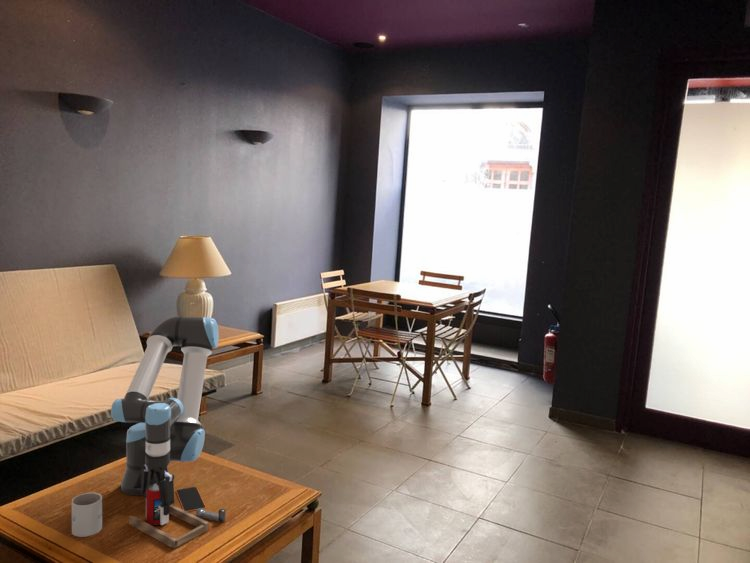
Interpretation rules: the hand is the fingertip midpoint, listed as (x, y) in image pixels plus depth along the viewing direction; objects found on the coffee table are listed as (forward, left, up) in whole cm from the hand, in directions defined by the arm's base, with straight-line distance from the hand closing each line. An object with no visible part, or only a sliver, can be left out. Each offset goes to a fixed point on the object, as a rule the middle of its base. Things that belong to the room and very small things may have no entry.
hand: (157, 519), depth 191 cm
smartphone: (-3, +16, -1) cm, 16 cm away
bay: (+6, 0, 0) cm, 6 cm away
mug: (-14, -15, -1) cm, 21 cm away
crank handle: (+12, +12, 0) cm, 17 cm away
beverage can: (0, 0, -1) cm, 1 cm away
